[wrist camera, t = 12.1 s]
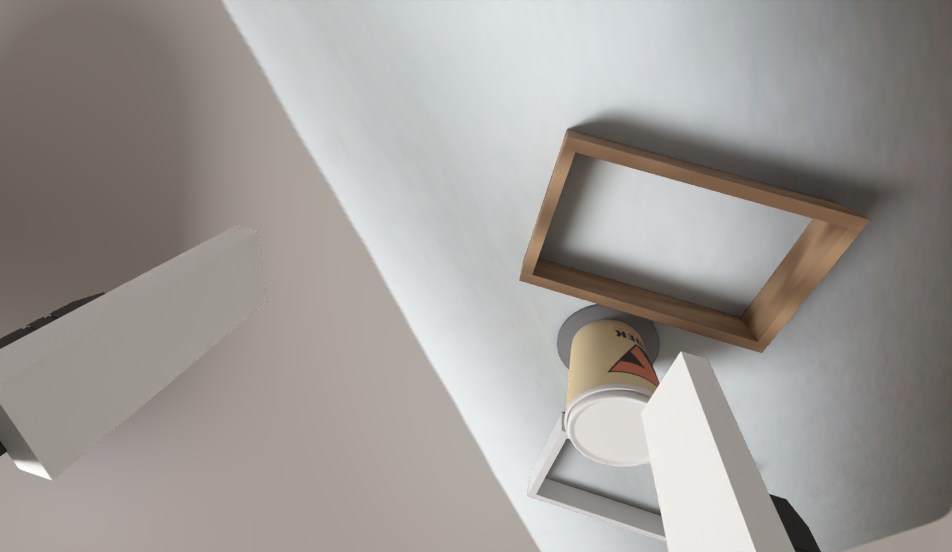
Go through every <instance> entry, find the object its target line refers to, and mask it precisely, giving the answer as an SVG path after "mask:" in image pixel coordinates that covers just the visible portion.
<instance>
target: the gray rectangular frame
mask: <svg viewBox="0 0 952 552" xmlns="http://www.w3.org/2000/svg"><path fill="white" fill-rule="evenodd" d="M564 418H565V413H563V412H562V413H561V415H560V417H559V418H558V420H557V422H556V424H555V426H554V428H553V430H552V432H551V434H550V436H549V438H548V440H547V442H546V444H545V446H544V448H543V450H542V452H541V454H540V456H539V458H538V460H537V462H536V464H535V466H534V468H533V469H532V471H531V473H530V475H529V479H528V491H527V496H528V497H531V498H534V499H538V500H541V501H544V502H547V503H550V504H553V505H556V506H559V507H562V508H565V509H568V510H571V511H574V512H577V513H580V514H583V515H586V516H589V517H592V518H595V519H598V520H601V521H604V522H607V523H610V524H613V525H616V526H619V527H622V528H625V529H628V530H631V531H634V532H637V533H640V534H643V535H646V536H649V537H652V538H656V539H659V540H662V541H665V542H667V541H666V536H665V531H664V526H663V521H662V516H660V515H657V514H654V513H651V512H648V511H645V510H642V509H639V508H636V507H632V506H629V505H626V504H623V503H620V502H617V501H614V500H611V499H608V498H605V497H602V496H599V495H596V494H593V493H590V492H587V491H584V490H580V489H577V488H574V487H571V486H568V485H565V484H562V483H559V482H556V481H553V480H550V479H547V478H545V477H546V475H547V473H548V471H549V470H550V468H551V466H552V464H553V462H554V460H555V459H556V457H557V455H558V453H559V451H560V450H561V448H562V446H563V444H564V442H565V440H566V439H570V438H569V437H568V435H567V433H566V430H565V424H564ZM645 464H649V465H651V462H648V463H645Z"/></svg>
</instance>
